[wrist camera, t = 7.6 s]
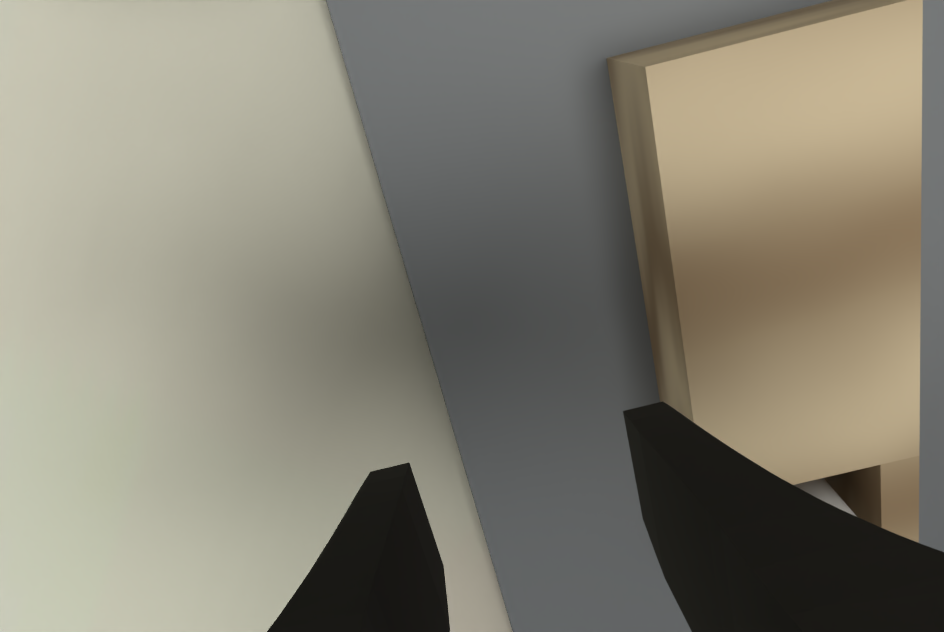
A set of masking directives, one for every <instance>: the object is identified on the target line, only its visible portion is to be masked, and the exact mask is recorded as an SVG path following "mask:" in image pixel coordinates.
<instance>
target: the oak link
mask: <svg viewBox="0 0 944 632" xmlns="http://www.w3.org/2000/svg"><path fill="white" fill-rule="evenodd" d="M922 36H923V0H832V1H828V2H824V3H820V4H816V5H812V6H808V7H804V8H800V9H796V10H793V11H789V12H785V13H781V14H777V15H773V16H769V17H765V18H761V19H757V20H753V21H750V22H746V23H742V24H738V25H734V26H730V27H726V28H722V29H718V30H714V31H710V32H707V33H703V34H699V35H695V36H691V37H687V38H683V39H679V40H675V41H671V42H667V43H664V44H660V45H656V46H652V47H648V48H644V49H640V50H636V51H632V52H628V53H624V54H621V55H617V56H613V57H609V58H607V65H608V71H609V77H610V84H611V90H612V97H613V103H614V109H615V116H616V122H617V129H618V135H619V141H620V148H621V154H622V161H623V167H624V174H625V180H626V186H627V193H628V199H629V206H630V212H631V218H632V225H633V231H634V238H635V244H636V250H637V257H638V263H639V270H640V276H641V283H642V289H643V295H644V302H645V308H646V315H647V321H648V327H649V334H650V340H651V347H652V353H653V359H654V366H655V372H656V379H657V385H658V392H659V398H660V402H662V401H663V402H665V403H666V404H668V405H669V406H671V407H672V408H674V409H675V410H677V411H678V412H680V413H681V414H683V415H684V416H685V417H687V418H688V419H690V420H691V421H692V422H694V423H695V424H697V425H698V426H700V427H701V428H702V429H704V430H705V431H707V432H708V433H710V434H711V435H713V436H714V437H716V438H717V439H719V440H720V441H722V442H723V443H725V444H726V445H728V446H729V447H731V448H732V449H734V450H735V451H737V452H738V453H740V454H742V455H743V456H745V457H747V458H748V459H750V460H751V461H753V462H755V463H756V464H758V465H759V466H761V467H763V468H764V469H766V470H768V471H769V472H771V473H773V474H774V475H776V476H778V477H779V478H781V479H783V480H785V481H787V482H788V483H790V484H792V485H795V484H799V483H804V482H808V481H812V480H817V479H821V478H824V479H825V480H826V481H827V483H828V484H829V485H830V486H831V487H832V488H833V489H834V491H835V492H836V493H837V494H838V495H839V496H840V498H841V499H842V500H843V501H844V502H845V503H846V505H847V506H848V507H849V508H850V509H851V510H852V511H853V513H854V514H855V515H856V516H857V517H859V518H861V519H863V520H865V521H868V522H870V523H872V524H874V525H877V526H879V527H881V528H883V529H886V530H888V531H890V532H893V533H895V534H898V535H900V536H903V537H905V538H908V539H910V540H913V541H915V542H918V543H919V442H920V307H921V171H922Z"/></svg>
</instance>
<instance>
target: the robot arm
mask: <svg viewBox="0 0 944 632" xmlns="http://www.w3.org/2000/svg"><path fill="white" fill-rule="evenodd" d="M623 415H624V420H625V426H626V431H627V436H628V442H629V447H630V453H631V458H632V463H633V469H634V474H635V480H636V485H637V490H638V496H639V501H640V507H641V512H642V518H643V521H644V524H645V526H646V529H647V532H648V535H649V537H650V540H651V543H652V546H653V548H654V551H655V554H656V556H657V559H658V562H659V564H660V567H661V570H662V572H663V575H664V578H665V580H666V582H667V584H668V586H669V588H670V590H671V592H672V594H673V596H674V598H675V600H676V602H677V604H678V606H679V608H680V610H681V611H682V613H683V615H684V617H685V619H686V621H687V623H688V625H689V627H690V629H691V631H692V632H944V552H942V551H939V550H937V549H934V548H931V547H928V546H925V545H923V544H920V543H918V542H915V541H913V540H910V539H908V538H905V537H903V536H900V535H898V534H895V533H893V532H890V531H888V530H886V529H883V528H881V527H879V526H877V525H874V524H872V523H870V522H868V521H865V520H863V519H861V518H859V517H856V516H854V515H852V514H850V513H847V512H845V511H843V510H841V509H839V508H837V507H835V506H833V505H831V504H828V503H826V502H824V501H822V500H820V499H818V498H816V497H815V496H813V495H811V494H809V493H807V492H805V491H803V490H802V489H800V488H798V487H796V486H794V485H792V484H790V483H788V482H787V481H785V480H783V479H781V478H779V477H778V476H776V475H774V474H773V473H771V472H769V471H768V470H766V469H764V468H763V467H761V466H759V465H758V464H756V463H755V462H753V461H751V460H750V459H748V458H747V457H745V456H743V455H742V454H740V453H738V452H737V451H735V450H734V449H732V448H731V447H729V446H728V445H726V444H725V443H723V442H722V441H720V440H719V439H717V438H716V437H714V436H713V435H711V434H710V433H708V432H707V431H705V430H704V429H702V428H701V427H700V426H698V425H697V424H695V423H694V422H692V421H691V420H690V419H688V418H687V417H685V416H684V415H683V414H681V413H680V412H678V411H677V410H675V409H674V408H672V407H671V406H669V405H668V404H666V403H665V402H663V401H662V402H658V403H654V404H650V405H646V406H642V407H637V408H633V409H629V410H625V411H623ZM267 632H450V626H449V615H448V605H447V595H446V585H445V576H444V567H443V563H442V560H441V557H440V554H439V551H438V548H437V545H436V542H435V539H434V536H433V533H432V530H431V527H430V524H429V521H428V518H427V515H426V512H425V509H424V506H423V503H422V500H421V497H420V494H419V491H418V488H417V485H416V482H415V479H414V476H413V473H412V470H411V467H410V463H405V464H401V465H397V466H393V467H389V468H385V469H380V470H376V471H372V472H370V474H369V475H368V477H367V478H366V480H365V481H364V483H363V485H362V486H361V488H360V490H359V491H358V493H357V495H356V496H355V498H354V500H353V501H352V503H351V505H350V507H349V508H348V510H347V512H346V513H345V515H344V517H343V519H342V520H341V522H340V524H339V525H338V527H337V529H336V530H335V532H334V534H333V535H332V537H331V539H330V540H329V542H328V543H327V545H326V547H325V548H324V550H323V551H322V553H321V554H320V556H319V558H318V559H317V561H316V562H315V564H314V566H313V567H312V569H311V570H310V572H309V573H308V575H307V576H306V578H305V579H304V581H303V582H302V584H301V585H300V587H299V588H298V589H297V591H296V592H295V594H294V595H293V597H292V598H291V599H290V601H289V602H288V604H287V605H286V607H285V608H284V609H283V611H282V612H281V614H280V615H279V617H278V618H277V619H276V621H275V622H274V623H273V625H272V626H271V627H270V629H269V630H268V631H267Z"/></svg>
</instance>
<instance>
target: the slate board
mask: <svg viewBox="0 0 944 632" xmlns="http://www.w3.org/2000/svg"><path fill="white" fill-rule="evenodd" d="M326 1H327V5H328V8H329V12H330V15H331V18H332V22H333V25H334V29H335V32H336V35H337V39H338V42H339V45H340V49H341V52H342V56H343V59H344V62H345V66H346V69H347V72H348V76H349V79H350V83H351V86H352V89H353V93H354V96H355V99H356V103H357V106H358V110H359V113H360V116H361V120H362V123H363V127H364V130H365V133H366V137H367V140H368V143H369V147H370V150H371V154H372V157H373V160H374V164H375V167H376V170H377V174H378V177H379V181H380V184H381V187H382V191H383V194H384V198H385V201H386V204H387V208H388V211H389V214H390V218H391V221H392V225H393V228H394V231H395V235H396V238H397V241H398V245H399V248H400V252H401V255H402V258H403V262H404V265H405V268H406V272H407V275H408V279H409V282H410V285H411V289H412V292H413V296H414V299H415V302H416V306H417V309H418V312H419V316H420V319H421V323H422V326H423V329H424V333H425V336H426V339H427V343H428V346H429V350H430V353H431V356H432V360H433V363H434V366H435V370H436V373H437V377H438V380H439V383H440V387H441V390H442V394H443V397H444V400H445V404H446V407H447V410H448V414H449V417H450V421H451V424H452V427H453V431H454V434H455V437H456V441H457V444H458V448H459V451H460V454H461V458H462V461H463V464H464V468H465V471H466V475H467V478H468V481H469V485H470V488H471V492H472V495H473V498H474V502H475V505H476V508H477V512H478V515H479V519H480V522H481V525H482V529H483V532H484V535H485V539H486V542H487V546H488V549H489V552H490V556H491V559H492V563H493V566H494V569H495V573H496V576H497V579H498V583H499V586H500V590H501V593H502V596H503V600H504V603H505V606H506V610H507V613H508V617H509V620H510V623H511V627H512V630H513V632H692V631H691V629H690V627H689V625H688V623H687V621H686V619H685V617H684V615H683V613H682V611H681V610H680V608H679V606H678V604H677V602H676V600H675V598H674V596H673V594H672V592H671V590H670V588H669V586H668V584H667V582H666V580H665V578H664V575H663V572H662V570H661V567H660V564H659V562H658V559H657V556H656V554H655V551H654V548H653V546H652V543H651V540H650V537H649V535H648V532H647V529H646V526H645V524H644V521H643V518H642V512H641V507H640V501H639V496H638V490H637V485H636V480H635V474H634V469H633V463H632V458H631V453H630V447H629V442H628V436H627V431H626V426H625V420H624V415H623V411H625V410H629V409H633V408H637V407H642V406H646V405H650V404H654V403H658V402H660V398H659V392H658V385H657V379H656V372H655V366H654V359H653V353H652V347H651V340H650V334H649V327H648V321H647V315H646V308H645V302H644V295H643V289H642V283H641V276H640V270H639V263H638V257H637V250H636V244H635V238H634V231H633V225H632V218H631V212H630V206H629V199H628V193H627V186H626V180H625V174H624V167H623V161H622V154H621V148H620V141H619V135H618V129H617V122H616V116H615V109H614V103H613V97H612V90H611V84H610V77H609V71H608V65H607V58H609V57H613V56H617V55H621V54H624V53H628V52H632V51H636V50H640V49H644V48H648V47H652V46H656V45H660V44H664V43H667V42H671V41H675V40H679V39H683V38H687V37H691V36H695V35H699V34H703V33H707V32H710V31H714V30H718V29H722V28H726V27H730V26H734V25H738V24H742V23H746V22H750V21H753V20H757V19H761V18H765V17H769V16H773V15H777V14H781V13H785V12H789V11H793V10H796V9H800V8H804V7H808V6H812V5H816V4H820V3H824V2H828V1H832V0H326ZM794 486H796V487H798V488H800V489H802V490H803V491H805V492H807V493H809V494H811V495H813V496H815V497H816V498H818V499H820V500H822V501H824V502H826V503H828V504H831V505H833V506H835V507H837V508H839V509H841V510H843V511H845V512H847V513H850V514H852V515H854V516H856V515H855V514H854V513H853V511H852V510H851V509H850V508H849V507H848V506H847V505H846V503H845V502H844V501H843V500H842V499H841V498H840V496H839V495H838V494H837V493H836V492H835V491H834V489H833V488H832V487H831V486H830V485H829V484H828V483H827V481H826V480H825V479H824V478H821V479H817V480H812V481H808V482H804V483H799V484H795V485H794ZM856 517H857V516H856ZM919 543H920V544H923V545H925V546H928V547H931V548H934V549H937V550H939V551H942V552H944V0H923V36H922V171H921V307H920V442H919Z"/></svg>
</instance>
